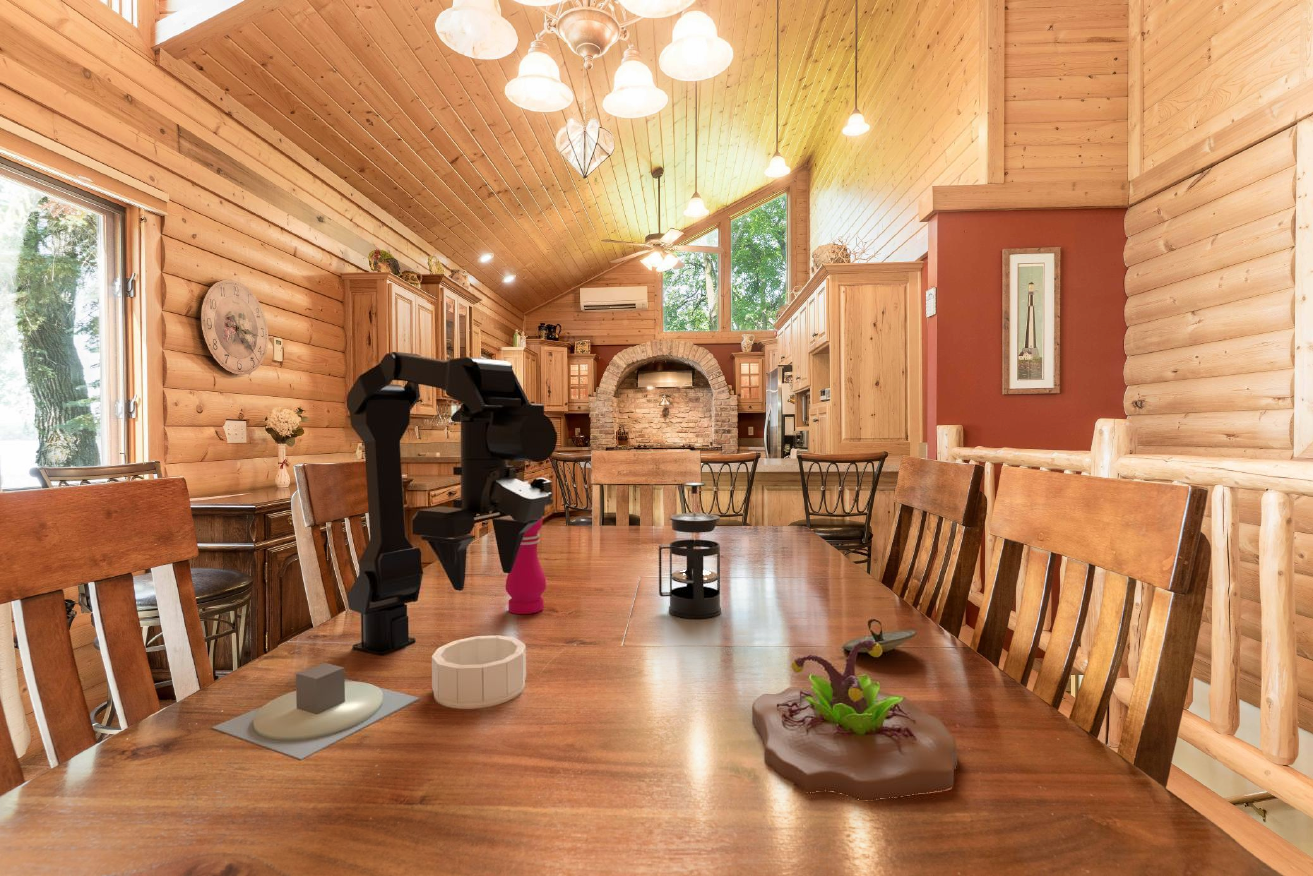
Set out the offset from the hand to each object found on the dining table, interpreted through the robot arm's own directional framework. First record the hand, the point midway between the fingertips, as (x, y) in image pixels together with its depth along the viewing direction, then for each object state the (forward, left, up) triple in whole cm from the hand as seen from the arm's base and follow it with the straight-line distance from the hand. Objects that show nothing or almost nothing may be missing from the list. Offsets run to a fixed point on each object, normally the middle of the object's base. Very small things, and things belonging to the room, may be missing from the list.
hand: (484, 581), depth 78 cm
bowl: (0, -1, -14) cm, 14 cm away
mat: (-12, -14, -14) cm, 23 cm away
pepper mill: (-16, +29, -14) cm, 36 cm away
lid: (+44, +33, -14) cm, 57 cm away
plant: (+44, +5, -14) cm, 47 cm away
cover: (-12, -14, -13) cm, 23 cm away
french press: (+12, +41, -14) cm, 44 cm away
